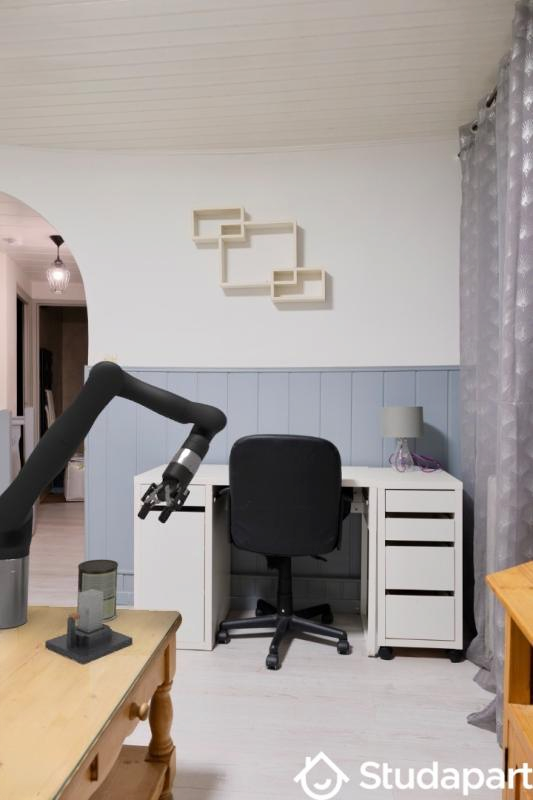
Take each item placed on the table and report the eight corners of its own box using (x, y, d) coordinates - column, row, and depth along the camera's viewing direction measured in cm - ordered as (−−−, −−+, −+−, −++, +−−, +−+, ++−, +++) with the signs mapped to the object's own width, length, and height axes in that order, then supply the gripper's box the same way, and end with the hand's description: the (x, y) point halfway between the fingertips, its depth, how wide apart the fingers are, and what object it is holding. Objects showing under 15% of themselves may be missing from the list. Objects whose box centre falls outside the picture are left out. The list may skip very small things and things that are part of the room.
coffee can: (68, 617, 153) (70, 564, 153) (100, 607, 161) (101, 557, 161) (92, 627, 147) (94, 571, 147) (124, 616, 155) (126, 563, 155)
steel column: (76, 639, 135) (78, 592, 135) (91, 633, 138) (92, 588, 138) (87, 643, 132) (89, 596, 132) (102, 638, 136) (103, 592, 136)
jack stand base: (45, 647, 133) (46, 611, 134) (94, 629, 145) (95, 596, 145) (82, 664, 125) (84, 625, 125) (132, 644, 137) (133, 608, 137)
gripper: (157, 459, 158) (124, 509, 149) (191, 461, 148) (159, 514, 140) (173, 476, 162) (142, 525, 153) (207, 478, 152) (177, 531, 144)
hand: (150, 519), depth 147 cm, fingers open, 8 cm apart
